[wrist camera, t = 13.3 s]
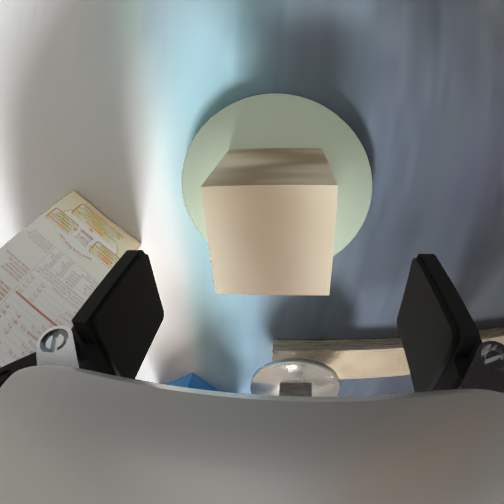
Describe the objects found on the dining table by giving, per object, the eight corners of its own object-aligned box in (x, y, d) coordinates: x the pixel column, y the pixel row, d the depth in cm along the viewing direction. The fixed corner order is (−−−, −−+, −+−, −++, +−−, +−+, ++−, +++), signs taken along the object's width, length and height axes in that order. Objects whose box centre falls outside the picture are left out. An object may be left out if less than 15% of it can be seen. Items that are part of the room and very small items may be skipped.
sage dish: (372, 95, 15) (376, 96, 14) (359, 263, 21) (361, 272, 20) (176, 101, 16) (170, 102, 15) (199, 262, 22) (195, 271, 21)
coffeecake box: (87, 335, 29) (6, 494, 12) (35, 294, 27) (-63, 439, 10) (146, 244, 22) (-2, 508, 5) (73, 186, 20) (-126, 389, 3)
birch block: (321, 148, 16) (337, 185, 11) (319, 230, 18) (329, 295, 13) (228, 149, 17) (200, 186, 11) (236, 230, 19) (215, 293, 14)
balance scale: (543, 310, 21) (600, 419, 9) (516, 356, 24) (556, 458, 12) (253, 326, 25) (223, 508, 12) (257, 377, 28) (237, 524, 16)
